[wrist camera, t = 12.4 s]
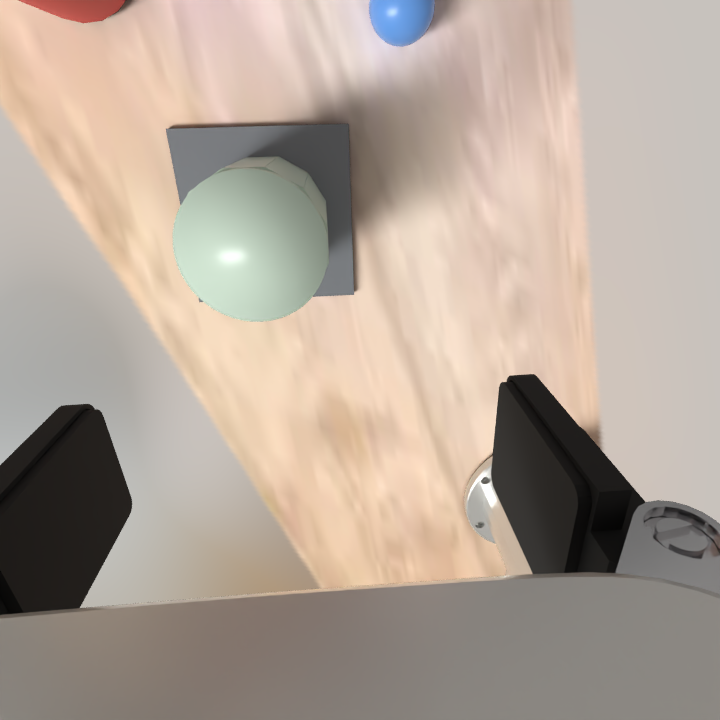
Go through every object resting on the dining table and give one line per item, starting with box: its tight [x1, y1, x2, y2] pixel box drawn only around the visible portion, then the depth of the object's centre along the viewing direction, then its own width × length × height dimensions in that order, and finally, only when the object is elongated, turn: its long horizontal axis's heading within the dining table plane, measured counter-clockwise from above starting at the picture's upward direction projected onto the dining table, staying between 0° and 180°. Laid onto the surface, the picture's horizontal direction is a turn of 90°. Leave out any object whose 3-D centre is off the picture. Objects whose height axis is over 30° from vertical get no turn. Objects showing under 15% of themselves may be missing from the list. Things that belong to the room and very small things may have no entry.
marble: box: [369, 0, 435, 46], centre depth 25 cm, size 4×4×4 cm
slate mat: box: [166, 124, 354, 302], centre depth 31 cm, size 11×11×1 cm
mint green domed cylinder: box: [173, 156, 329, 322], centre depth 27 cm, size 8×8×8 cm
